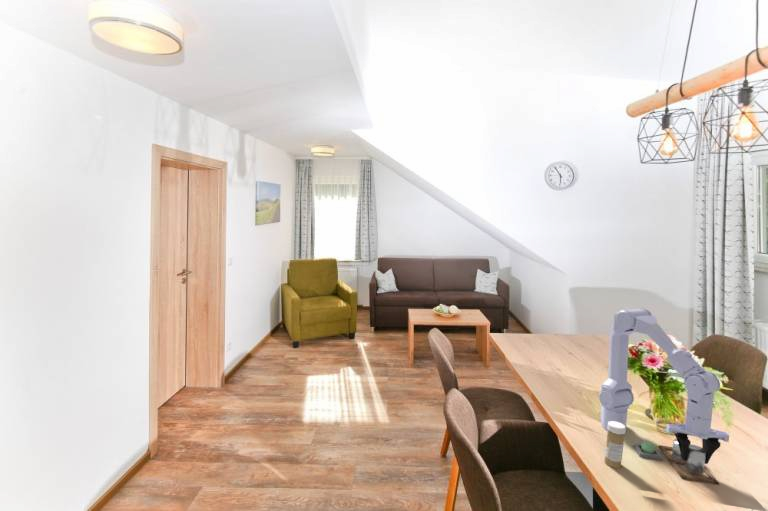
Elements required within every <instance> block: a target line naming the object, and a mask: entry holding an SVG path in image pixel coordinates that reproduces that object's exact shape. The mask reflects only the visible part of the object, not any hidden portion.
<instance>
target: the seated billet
mask: <svg viewBox="0 0 768 511" xmlns="http://www.w3.org/2000/svg"><path fill="white" fill-rule="evenodd" d="M672 441H673V442H672V447H673V450H672V452H671V457H672V458H674V459H675V460H679V461H684V460H683V459H682V458H681V453H680V448H679V444H678V441H677V439H676V438H674V439H673V440H672Z"/></svg>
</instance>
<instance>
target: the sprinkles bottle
mask: <svg viewBox="0 0 768 511" xmlns="http://www.w3.org/2000/svg"><path fill="white" fill-rule="evenodd" d="M607 429H608V431H607V434H606V441H605V442H606V443H605V450H604V451H605V452H604V461H603V462H604V463H605V465H607V466H608V467H610V468H613V469H619V468H621V466H622V462H623V461H622V460H623V453H624V452H623V451H624V444H625V443H624V439H625V434H626V432H625V430H626V431H627V426H626V427H625V426H624V425H623V424H622V423H619V422H616V421H610V422H608V426H607Z"/></svg>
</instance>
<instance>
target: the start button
mask: <svg viewBox="0 0 768 511" xmlns="http://www.w3.org/2000/svg"><path fill="white" fill-rule="evenodd" d="M640 444H641V451H642V452H644V453H651V454H654V449H655V447H656V446H655V443H653V442H651V441H650V440H641V443H640Z"/></svg>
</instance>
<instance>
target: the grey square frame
mask: <svg viewBox="0 0 768 511" xmlns="http://www.w3.org/2000/svg"><path fill="white" fill-rule="evenodd" d="M641 444H642V443H636V442H635V443H634V442H633V445H632V447H633V449H634V450H635V452H636V453H637V455H638V457H639V458H644V459H652V460H659V461H663V455H662V454H661V453H660V451H659V450H658V449H657V446H655V449H654V454H651V453H644V452H642V451H641Z"/></svg>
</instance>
